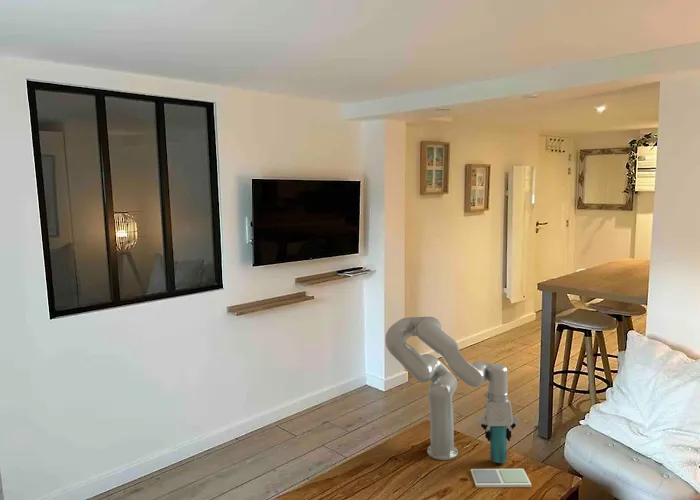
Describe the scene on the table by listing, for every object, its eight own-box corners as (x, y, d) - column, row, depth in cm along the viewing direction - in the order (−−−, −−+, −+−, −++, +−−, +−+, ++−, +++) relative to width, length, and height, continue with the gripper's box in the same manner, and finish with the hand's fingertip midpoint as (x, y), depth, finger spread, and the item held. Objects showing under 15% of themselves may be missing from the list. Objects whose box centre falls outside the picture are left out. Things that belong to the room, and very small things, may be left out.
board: (476, 487, 190) (476, 484, 190) (470, 471, 201) (470, 468, 201) (531, 487, 189) (531, 483, 189) (523, 471, 200) (523, 467, 200)
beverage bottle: (507, 467, 203) (507, 418, 201) (490, 466, 204) (489, 417, 202) (506, 459, 209) (506, 411, 207) (489, 458, 210) (488, 410, 208)
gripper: (477, 400, 201) (477, 444, 202) (523, 399, 200) (523, 443, 201) (473, 393, 208) (474, 435, 210) (517, 392, 207) (518, 434, 209)
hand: (498, 439), depth 206 cm, fingers open, 7 cm apart
